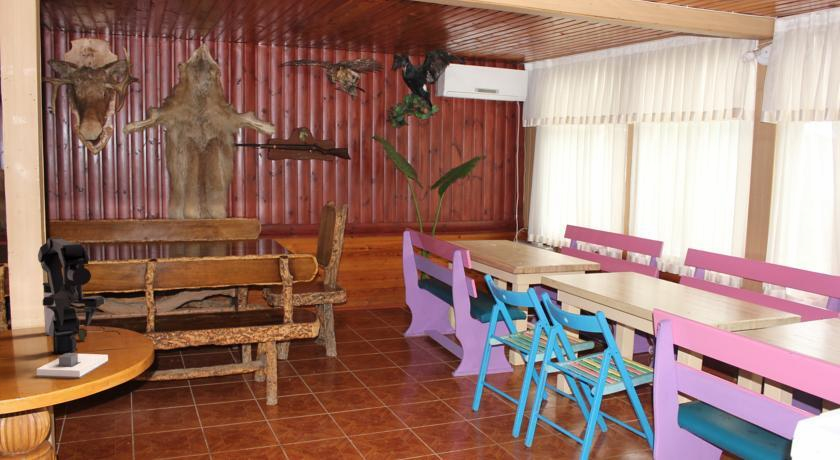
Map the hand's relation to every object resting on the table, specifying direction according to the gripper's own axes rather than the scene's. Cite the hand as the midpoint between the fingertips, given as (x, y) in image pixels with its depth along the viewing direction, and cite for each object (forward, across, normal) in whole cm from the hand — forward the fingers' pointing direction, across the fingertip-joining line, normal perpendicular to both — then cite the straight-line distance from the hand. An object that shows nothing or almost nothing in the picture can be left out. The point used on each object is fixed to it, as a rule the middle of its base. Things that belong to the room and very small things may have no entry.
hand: (74, 325), depth 242 cm
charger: (+12, +5, -13) cm, 18 cm away
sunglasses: (+13, -10, +32) cm, 36 cm away
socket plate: (+12, +5, -10) cm, 16 cm away
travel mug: (+12, -27, +33) cm, 44 cm away
